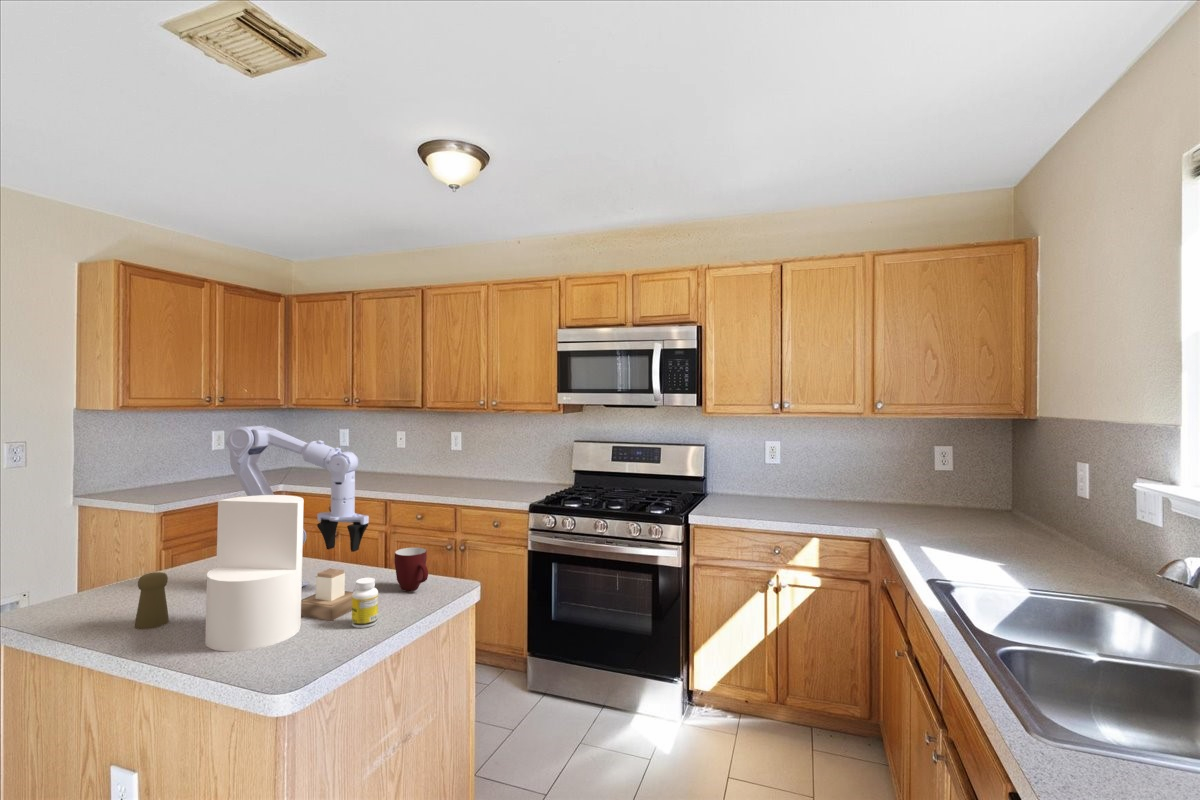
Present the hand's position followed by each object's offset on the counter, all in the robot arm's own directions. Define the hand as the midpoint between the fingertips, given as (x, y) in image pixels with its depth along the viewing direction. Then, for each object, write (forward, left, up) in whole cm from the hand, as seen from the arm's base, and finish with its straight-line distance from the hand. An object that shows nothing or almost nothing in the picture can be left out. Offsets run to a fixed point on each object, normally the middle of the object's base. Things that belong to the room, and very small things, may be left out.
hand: (342, 549), depth 149 cm
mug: (+18, +6, -11) cm, 21 cm away
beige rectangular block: (+8, -13, -7) cm, 17 cm away
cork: (-22, -32, -11) cm, 40 cm away
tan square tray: (+8, -13, -10) cm, 18 cm away
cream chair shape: (+2, -29, -11) cm, 31 cm away
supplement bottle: (+21, -17, -11) cm, 29 cm away
